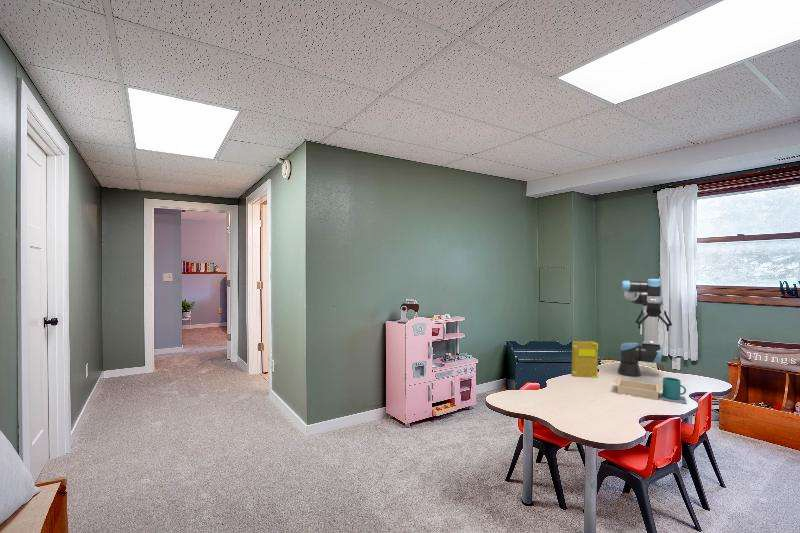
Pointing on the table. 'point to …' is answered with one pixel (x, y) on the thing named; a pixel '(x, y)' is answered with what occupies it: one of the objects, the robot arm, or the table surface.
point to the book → (584, 359)
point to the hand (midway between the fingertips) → (653, 335)
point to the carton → (638, 388)
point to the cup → (672, 388)
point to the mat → (681, 400)
